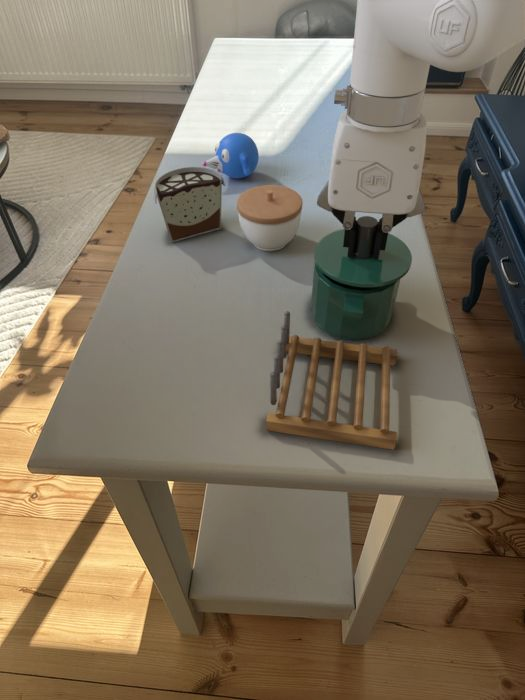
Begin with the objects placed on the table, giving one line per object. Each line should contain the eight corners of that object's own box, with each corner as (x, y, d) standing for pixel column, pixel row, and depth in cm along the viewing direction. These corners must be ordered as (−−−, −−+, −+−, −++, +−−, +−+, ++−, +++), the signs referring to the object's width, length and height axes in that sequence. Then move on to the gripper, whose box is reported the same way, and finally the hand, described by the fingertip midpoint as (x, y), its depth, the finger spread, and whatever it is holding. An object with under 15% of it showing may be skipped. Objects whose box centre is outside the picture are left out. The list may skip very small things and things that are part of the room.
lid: (409, 238, 68) (418, 199, 63) (411, 295, 59) (421, 255, 55) (319, 231, 69) (322, 193, 65) (309, 286, 61) (311, 246, 57)
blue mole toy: (193, 172, 102) (188, 131, 96) (244, 159, 105) (242, 119, 99) (216, 198, 94) (212, 156, 88) (269, 183, 98) (269, 142, 92)
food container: (215, 210, 91) (210, 159, 84) (228, 226, 88) (224, 174, 80) (153, 227, 88) (142, 175, 80) (163, 244, 84) (153, 192, 77)
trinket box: (247, 264, 80) (245, 214, 73) (233, 229, 87) (229, 180, 80) (309, 253, 82) (312, 203, 75) (289, 219, 89) (291, 171, 82)
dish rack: (394, 359, 65) (407, 314, 59) (394, 449, 56) (409, 407, 49) (284, 345, 67) (286, 300, 61) (266, 430, 58) (265, 387, 52)
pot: (390, 280, 76) (401, 234, 70) (389, 359, 65) (401, 313, 59) (317, 272, 78) (321, 227, 72) (304, 348, 67) (307, 302, 60)
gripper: (302, 114, 49) (298, 263, 62) (470, 121, 46) (428, 275, 59) (310, 88, 54) (305, 231, 67) (462, 93, 51) (425, 241, 65)
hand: (363, 251), depth 63 cm, fingers closed on lid, 2 cm apart
